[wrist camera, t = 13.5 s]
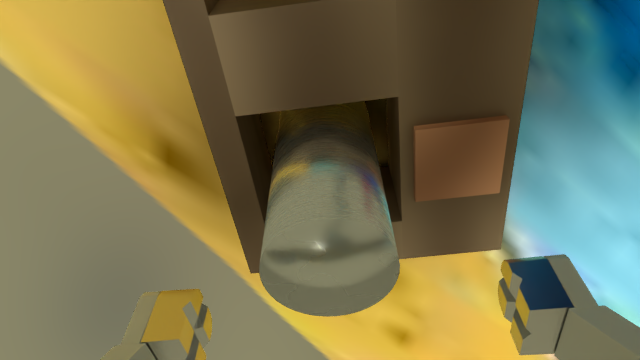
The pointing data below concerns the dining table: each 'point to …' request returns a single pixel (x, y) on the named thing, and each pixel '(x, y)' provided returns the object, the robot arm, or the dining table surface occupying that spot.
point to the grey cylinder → (327, 214)
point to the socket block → (369, 84)
